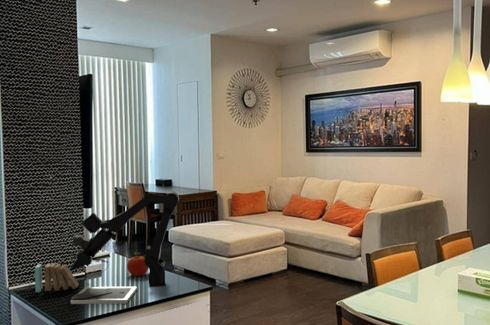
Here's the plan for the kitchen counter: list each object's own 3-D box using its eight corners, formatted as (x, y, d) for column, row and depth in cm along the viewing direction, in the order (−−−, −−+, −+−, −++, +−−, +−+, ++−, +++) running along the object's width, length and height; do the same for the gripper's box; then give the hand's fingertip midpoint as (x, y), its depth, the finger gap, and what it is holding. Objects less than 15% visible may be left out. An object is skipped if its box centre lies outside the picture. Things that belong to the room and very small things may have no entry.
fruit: (130, 279, 204) (130, 256, 203) (124, 274, 212) (124, 252, 212) (152, 275, 209) (151, 253, 208) (145, 271, 217) (144, 249, 216)
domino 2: (51, 287, 193) (51, 263, 192) (49, 291, 188) (48, 266, 187) (47, 288, 192) (47, 263, 192) (45, 291, 188) (44, 266, 187)
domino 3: (61, 286, 193) (55, 263, 193) (58, 290, 189) (53, 266, 188) (57, 287, 193) (51, 263, 192) (54, 291, 188) (49, 267, 187)
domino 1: (42, 288, 192) (41, 264, 192) (39, 292, 187) (39, 267, 187) (38, 288, 192) (37, 264, 191) (35, 292, 187) (34, 267, 186)
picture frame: (70, 305, 173) (127, 305, 173) (70, 298, 173) (126, 297, 173) (85, 292, 189) (137, 291, 189) (85, 285, 189) (136, 284, 188)
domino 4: (69, 285, 194) (60, 263, 193) (68, 288, 189) (57, 266, 188) (66, 286, 194) (56, 264, 193) (64, 290, 189) (54, 268, 188)
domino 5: (78, 283, 195) (65, 264, 193) (77, 287, 190) (63, 267, 189) (75, 286, 195) (61, 266, 193) (73, 289, 190) (59, 269, 188)
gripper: (87, 224, 201) (60, 251, 199) (81, 232, 183) (52, 262, 181) (106, 241, 203) (80, 268, 201) (102, 251, 185) (73, 280, 183)
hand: (71, 269), depth 192 cm, fingers closed
